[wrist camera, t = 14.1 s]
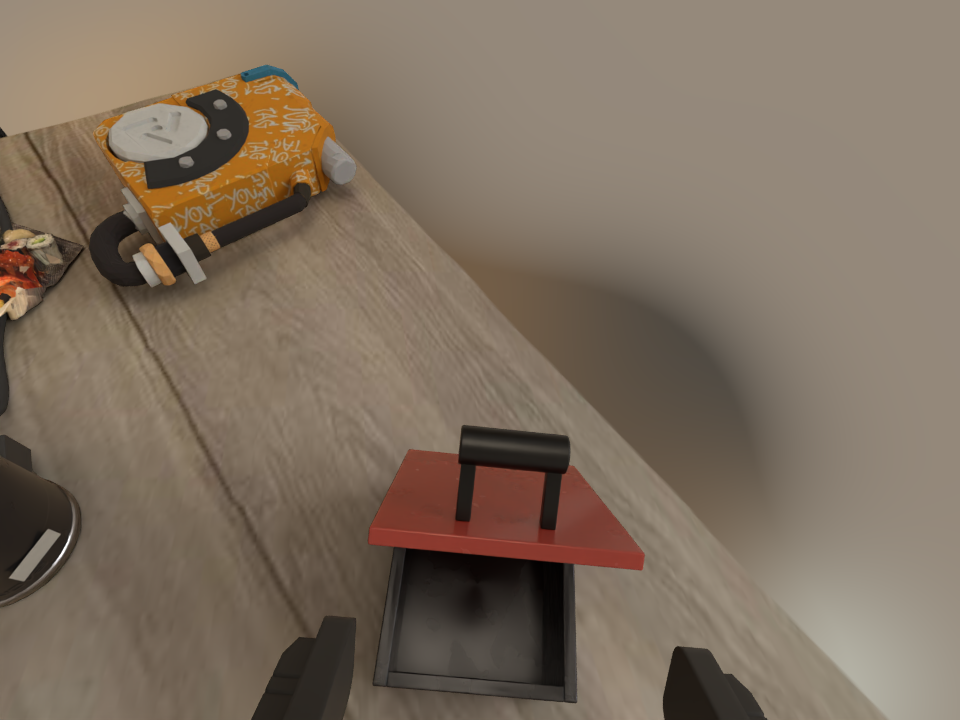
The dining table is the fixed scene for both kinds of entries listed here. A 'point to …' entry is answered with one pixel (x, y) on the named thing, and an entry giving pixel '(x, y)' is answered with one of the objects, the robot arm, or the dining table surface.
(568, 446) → the lid
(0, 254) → the food
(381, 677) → the black open box
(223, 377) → the dining table surface
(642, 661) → the dining table surface
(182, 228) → the device
